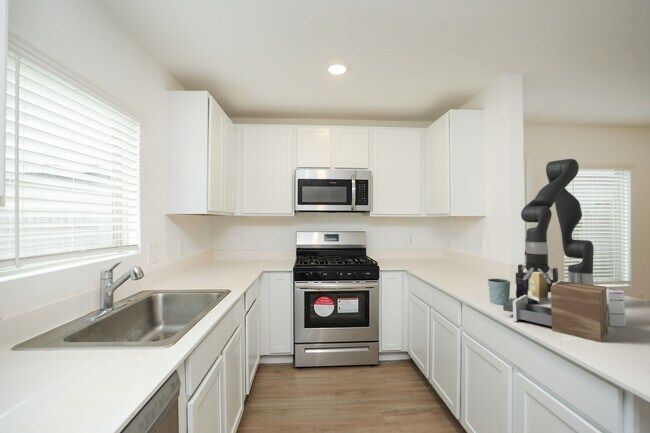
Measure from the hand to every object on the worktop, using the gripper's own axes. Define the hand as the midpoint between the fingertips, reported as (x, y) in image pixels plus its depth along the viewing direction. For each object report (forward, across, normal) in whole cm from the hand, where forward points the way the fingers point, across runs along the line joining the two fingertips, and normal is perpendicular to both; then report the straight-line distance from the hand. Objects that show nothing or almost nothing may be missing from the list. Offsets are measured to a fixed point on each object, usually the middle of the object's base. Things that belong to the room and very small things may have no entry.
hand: (537, 290), depth 122 cm
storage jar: (+14, +13, -30) cm, 35 cm away
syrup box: (+14, -20, -20) cm, 31 cm away
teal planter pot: (+14, +22, -18) cm, 31 cm away
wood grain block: (+14, -13, 0) cm, 19 cm away
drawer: (+13, +3, 0) cm, 13 cm away
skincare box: (+4, 0, 0) cm, 4 cm away
